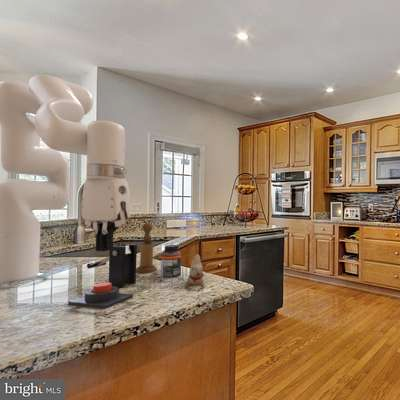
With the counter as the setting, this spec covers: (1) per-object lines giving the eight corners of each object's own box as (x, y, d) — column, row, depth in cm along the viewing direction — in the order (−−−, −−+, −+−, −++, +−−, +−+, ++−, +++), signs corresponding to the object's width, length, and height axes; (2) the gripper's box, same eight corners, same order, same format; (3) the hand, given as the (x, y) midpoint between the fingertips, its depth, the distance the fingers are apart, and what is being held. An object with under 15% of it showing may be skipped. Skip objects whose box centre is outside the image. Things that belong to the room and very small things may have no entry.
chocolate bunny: (180, 291, 80) (181, 256, 80) (190, 283, 88) (190, 251, 88) (200, 291, 80) (201, 256, 80) (208, 283, 88) (208, 251, 88)
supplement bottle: (168, 276, 95) (169, 243, 95) (184, 278, 94) (185, 244, 94) (156, 281, 89) (157, 246, 89) (173, 283, 88) (173, 246, 88)
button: (88, 293, 65) (89, 285, 65) (102, 288, 69) (103, 281, 69) (101, 294, 65) (101, 287, 65) (115, 290, 68) (115, 282, 68)
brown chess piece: (147, 278, 93) (148, 223, 93) (130, 276, 94) (132, 223, 94) (160, 273, 99) (162, 222, 100) (145, 272, 101) (146, 222, 101)
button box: (67, 311, 64) (68, 293, 64) (99, 299, 72) (100, 284, 72) (104, 315, 62) (104, 297, 62) (132, 303, 70) (133, 287, 70)
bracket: (94, 292, 77) (96, 246, 77) (119, 284, 85) (120, 242, 85) (125, 296, 75) (127, 248, 75) (147, 287, 83) (149, 244, 83)
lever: (88, 270, 79) (85, 263, 80) (103, 267, 84) (101, 259, 84) (121, 255, 77) (118, 247, 77) (135, 252, 82) (132, 244, 82)
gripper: (144, 175, 69) (143, 249, 69) (94, 176, 72) (93, 247, 72) (119, 171, 62) (117, 254, 62) (65, 172, 65) (63, 251, 65)
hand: (104, 250), depth 67 cm, fingers closed
